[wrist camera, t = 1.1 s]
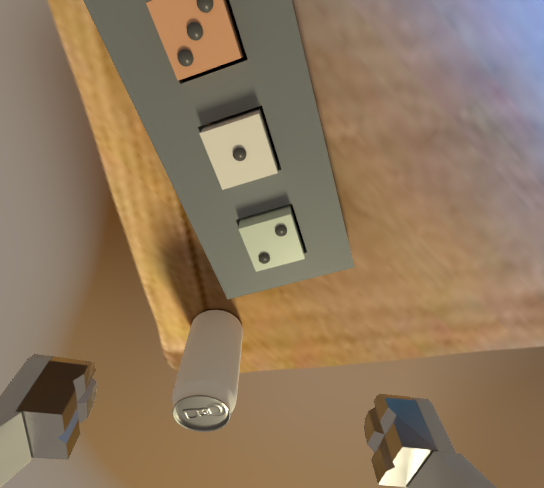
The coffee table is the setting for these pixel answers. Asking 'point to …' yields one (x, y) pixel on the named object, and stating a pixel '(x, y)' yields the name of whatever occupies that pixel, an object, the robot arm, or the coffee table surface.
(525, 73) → the coffee table surface
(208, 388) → the can
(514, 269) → the coffee table surface
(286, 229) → the two dot button
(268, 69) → the button board
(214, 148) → the one dot button
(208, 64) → the three dot button
